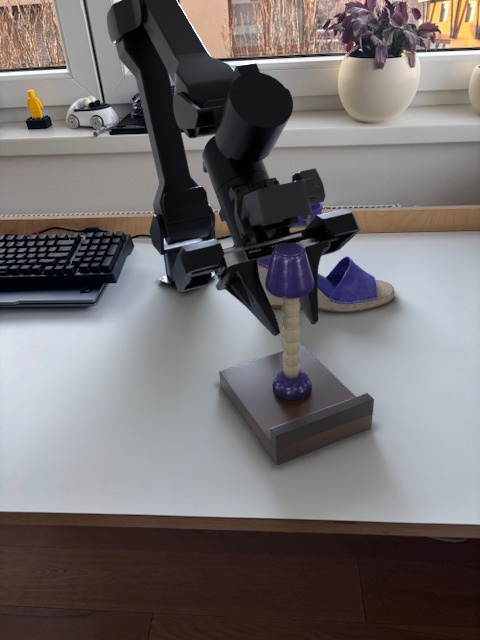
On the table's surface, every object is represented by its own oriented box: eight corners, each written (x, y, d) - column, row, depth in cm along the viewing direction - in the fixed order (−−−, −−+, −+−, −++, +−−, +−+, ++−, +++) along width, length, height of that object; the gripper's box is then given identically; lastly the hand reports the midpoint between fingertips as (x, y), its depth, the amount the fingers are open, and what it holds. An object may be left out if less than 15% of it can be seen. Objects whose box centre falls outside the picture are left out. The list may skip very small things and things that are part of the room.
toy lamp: (311, 404, 56) (315, 259, 47) (266, 403, 57) (262, 259, 48) (311, 375, 60) (315, 236, 51) (269, 374, 61) (266, 236, 52)
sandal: (398, 314, 74) (410, 208, 66) (253, 314, 76) (247, 212, 68) (391, 286, 80) (400, 187, 73) (257, 286, 83) (252, 191, 75)
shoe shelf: (220, 385, 63) (217, 358, 61) (302, 357, 67) (302, 331, 65) (276, 465, 52) (275, 436, 50) (371, 427, 56) (374, 399, 54)
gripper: (165, 159, 45) (226, 335, 42) (355, 126, 51) (419, 277, 48) (152, 219, 55) (200, 363, 53) (311, 185, 61) (362, 313, 59)
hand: (296, 329), depth 53 cm, fingers closed on toy lamp, 4 cm apart
